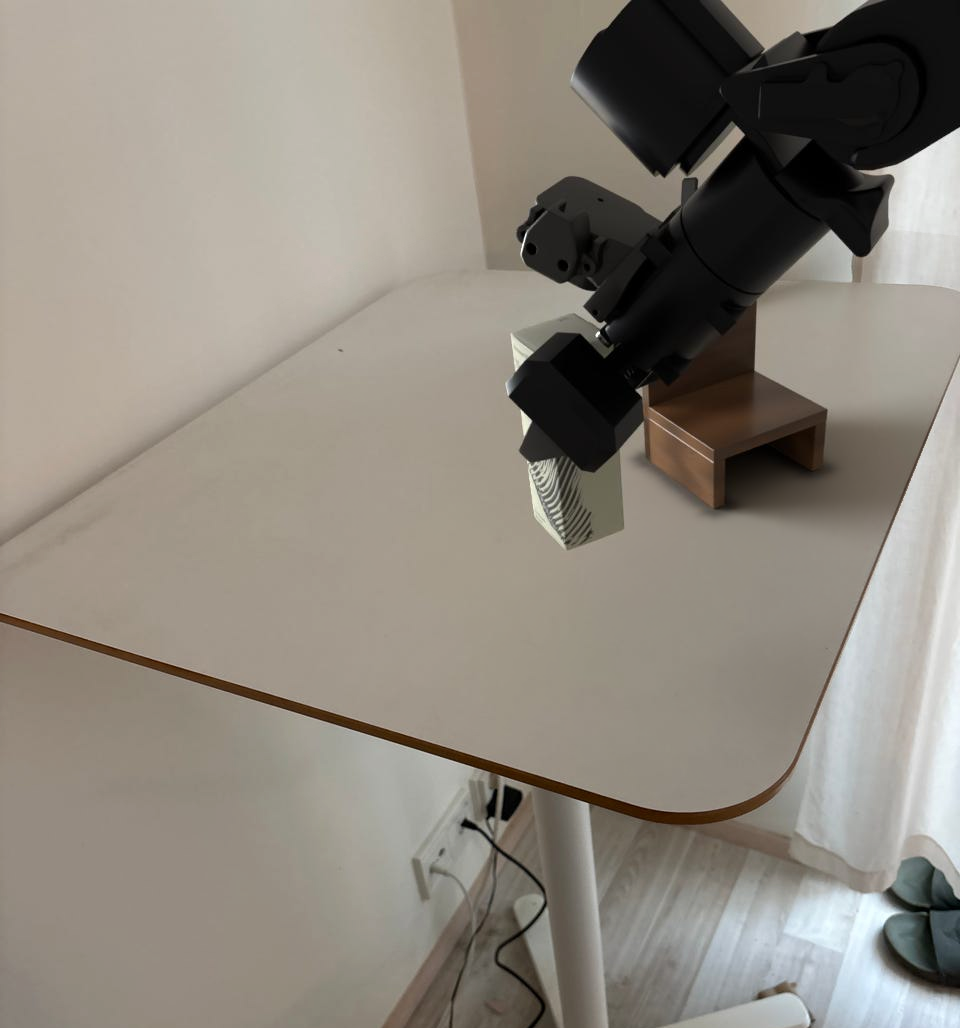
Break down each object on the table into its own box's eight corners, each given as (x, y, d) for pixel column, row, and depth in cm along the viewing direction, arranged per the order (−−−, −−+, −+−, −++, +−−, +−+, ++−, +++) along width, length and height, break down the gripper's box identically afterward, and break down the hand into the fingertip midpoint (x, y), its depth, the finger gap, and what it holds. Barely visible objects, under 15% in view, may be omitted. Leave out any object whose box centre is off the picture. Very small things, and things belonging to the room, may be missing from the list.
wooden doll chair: (822, 467, 74) (835, 317, 67) (713, 509, 72) (714, 358, 65) (746, 421, 82) (750, 281, 74) (644, 457, 80) (638, 317, 72)
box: (532, 519, 63) (503, 330, 55) (591, 497, 64) (571, 308, 56) (568, 556, 59) (543, 358, 51) (631, 532, 60) (616, 334, 52)
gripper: (683, 75, 51) (529, 277, 63) (514, 181, 39) (365, 404, 51) (825, 228, 52) (646, 398, 64) (701, 375, 40) (512, 549, 52)
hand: (550, 430), depth 58 cm, fingers closed on box, 6 cm apart
